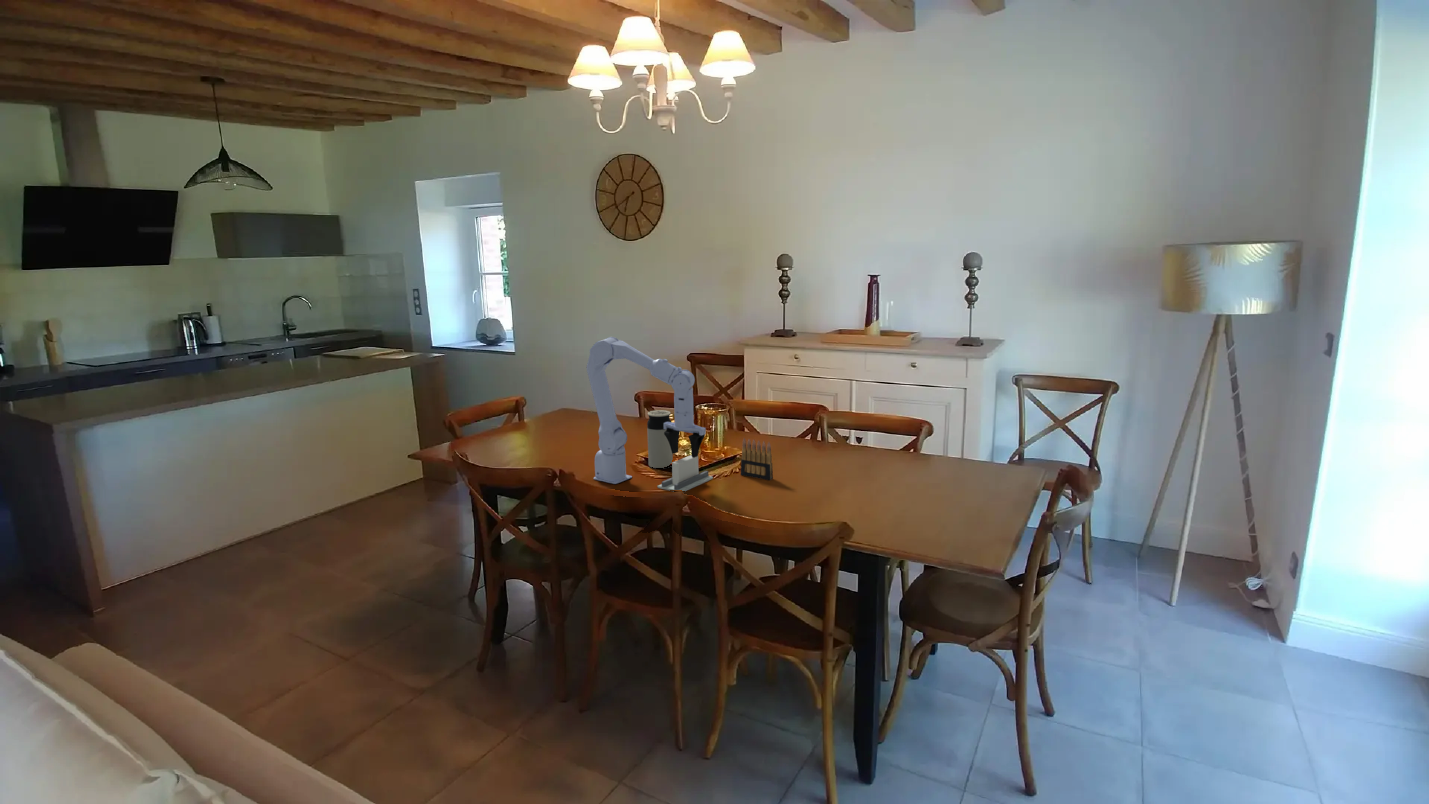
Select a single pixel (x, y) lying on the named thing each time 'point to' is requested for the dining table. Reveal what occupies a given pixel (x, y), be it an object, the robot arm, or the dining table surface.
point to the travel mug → (658, 439)
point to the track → (686, 482)
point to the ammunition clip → (756, 460)
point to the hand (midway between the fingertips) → (684, 454)
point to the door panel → (684, 469)
